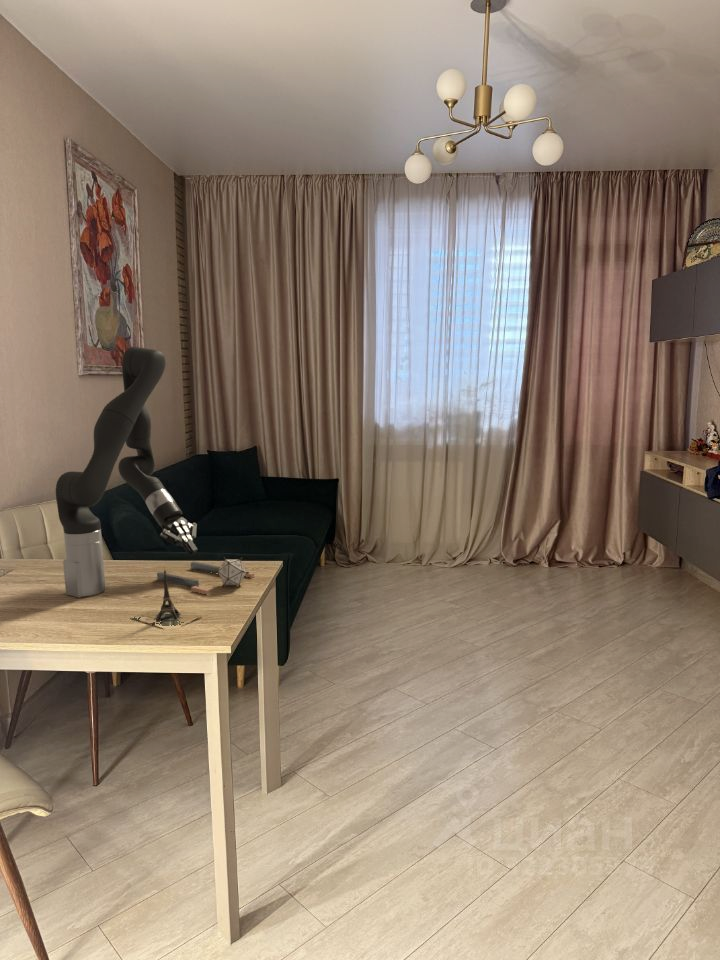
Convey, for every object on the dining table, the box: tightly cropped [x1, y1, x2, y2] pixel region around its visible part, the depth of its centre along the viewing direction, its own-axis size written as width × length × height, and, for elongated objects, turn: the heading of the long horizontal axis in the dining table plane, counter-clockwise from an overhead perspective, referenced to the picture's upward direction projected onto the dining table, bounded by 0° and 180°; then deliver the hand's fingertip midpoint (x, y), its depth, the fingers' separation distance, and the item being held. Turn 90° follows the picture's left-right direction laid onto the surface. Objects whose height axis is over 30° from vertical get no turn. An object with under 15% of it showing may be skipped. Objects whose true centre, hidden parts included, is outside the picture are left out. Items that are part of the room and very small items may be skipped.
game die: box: [215, 556, 249, 588], centre depth 175 cm, size 9×8×10 cm
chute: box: [156, 561, 221, 588], centre depth 184 cm, size 14×16×2 cm
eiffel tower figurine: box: [130, 565, 202, 626], centre depth 151 cm, size 15×10×13 cm
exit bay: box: [190, 571, 255, 595], centre depth 177 cm, size 18×6×1 cm, turn 147°
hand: (194, 553), depth 182 cm, fingers closed
